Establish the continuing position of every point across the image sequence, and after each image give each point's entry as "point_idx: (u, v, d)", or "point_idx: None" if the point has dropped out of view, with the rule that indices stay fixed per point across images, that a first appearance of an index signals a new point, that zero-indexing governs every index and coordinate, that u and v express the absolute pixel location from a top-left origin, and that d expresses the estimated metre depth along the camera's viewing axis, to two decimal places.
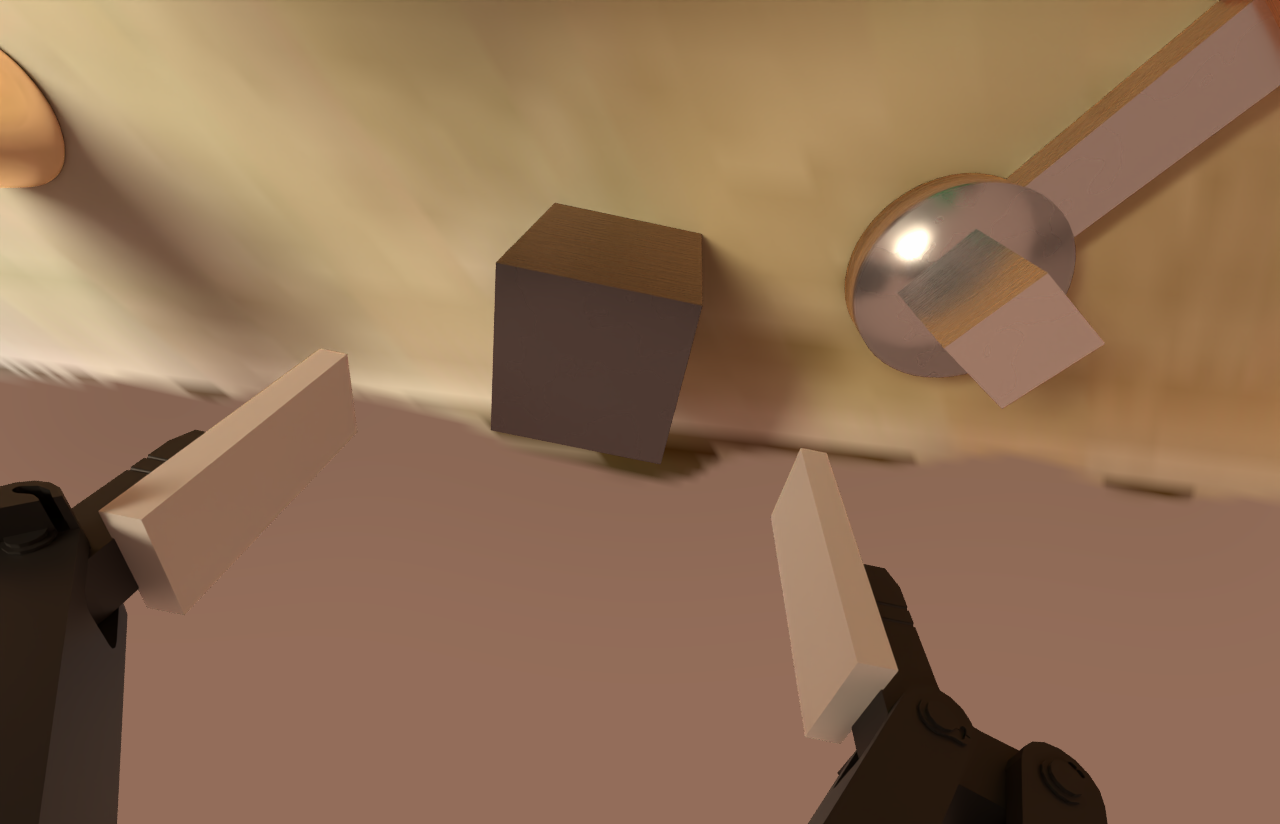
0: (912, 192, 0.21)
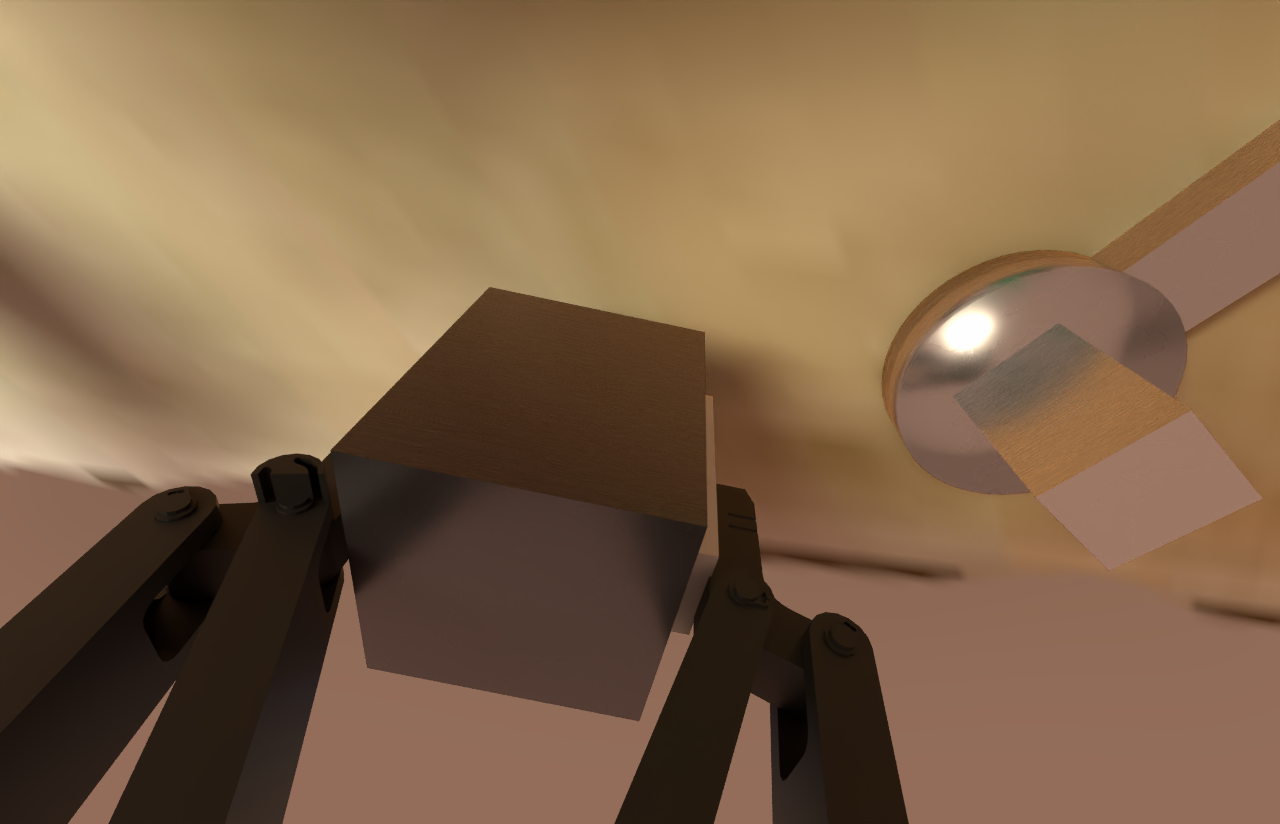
0: (971, 272, 0.17)
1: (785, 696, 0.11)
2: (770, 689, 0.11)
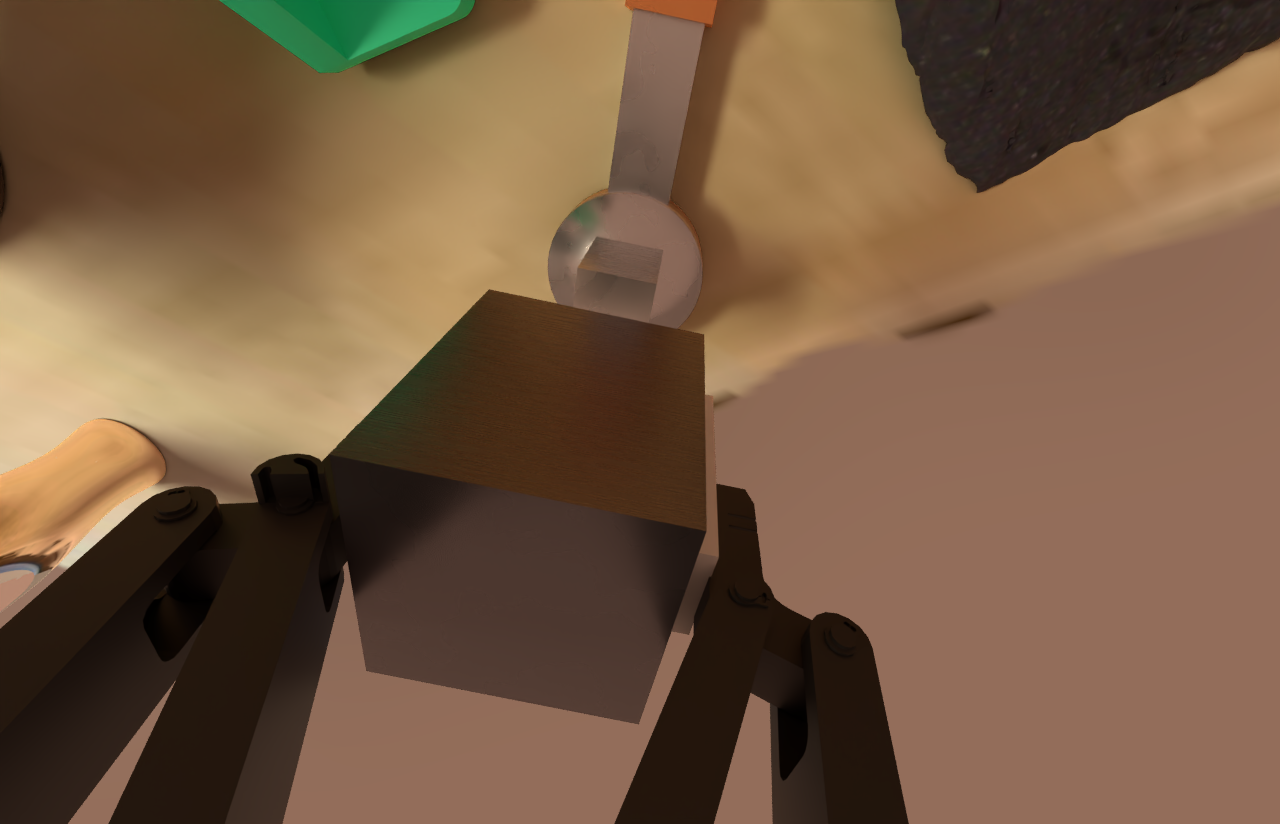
0: None
1: (785, 696, 0.11)
2: (770, 689, 0.11)
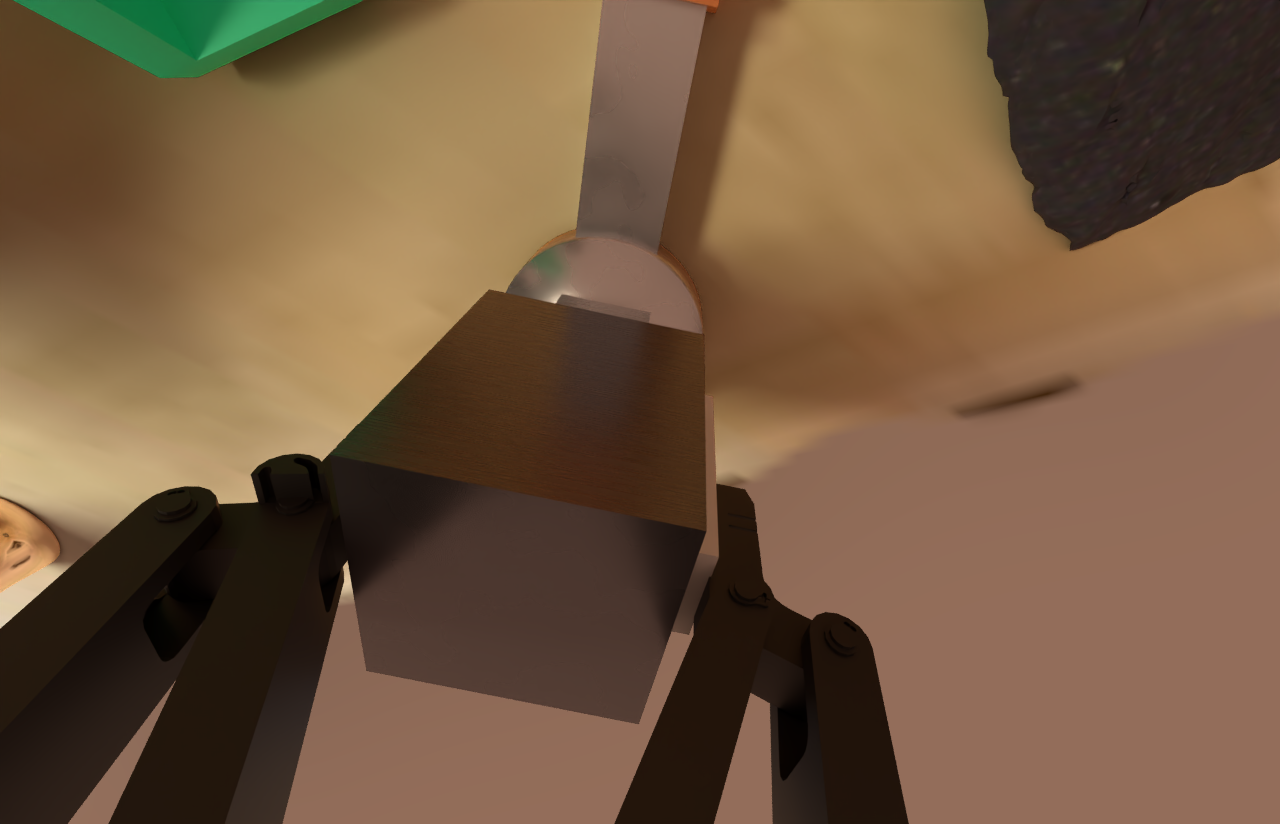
0: None
1: (785, 696, 0.11)
2: (770, 689, 0.11)
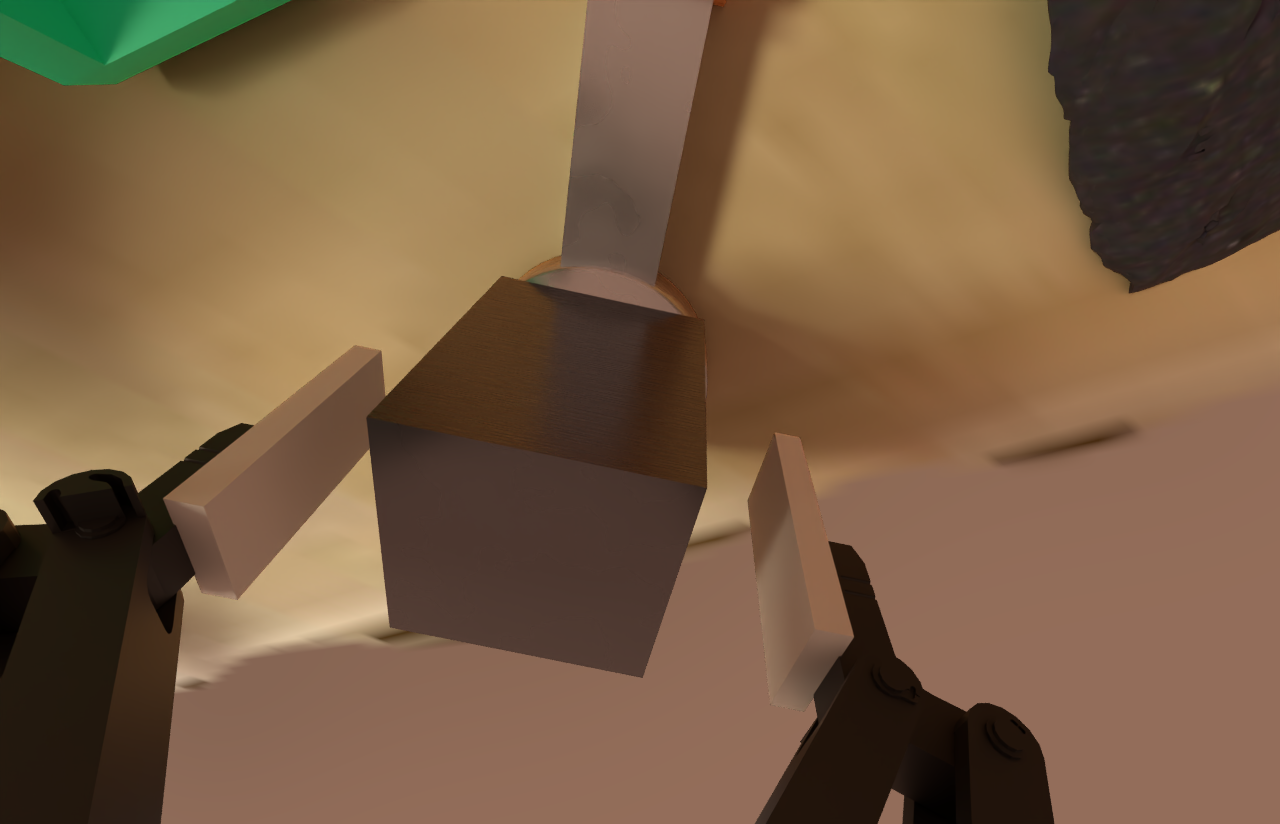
0: None
1: (934, 796, 0.10)
2: (917, 787, 0.10)
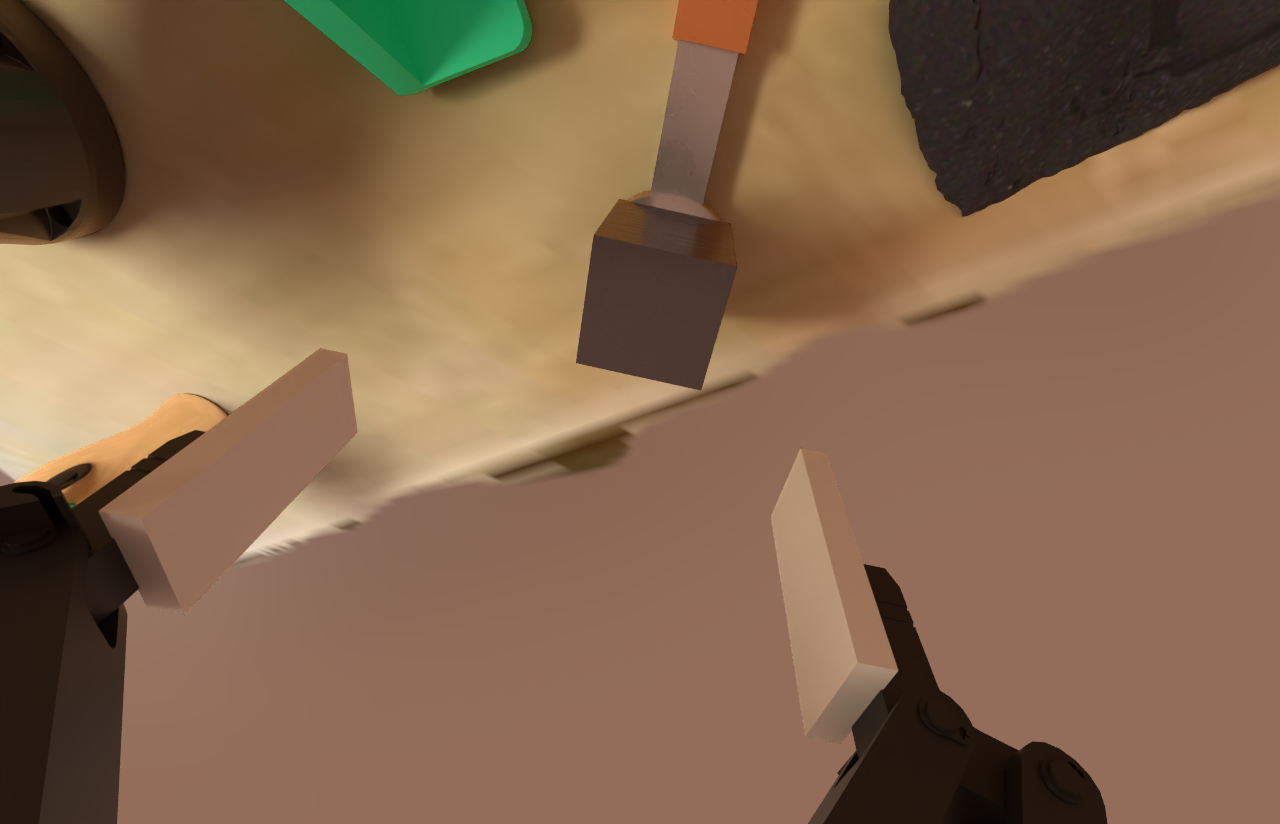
0: None
1: None
2: None
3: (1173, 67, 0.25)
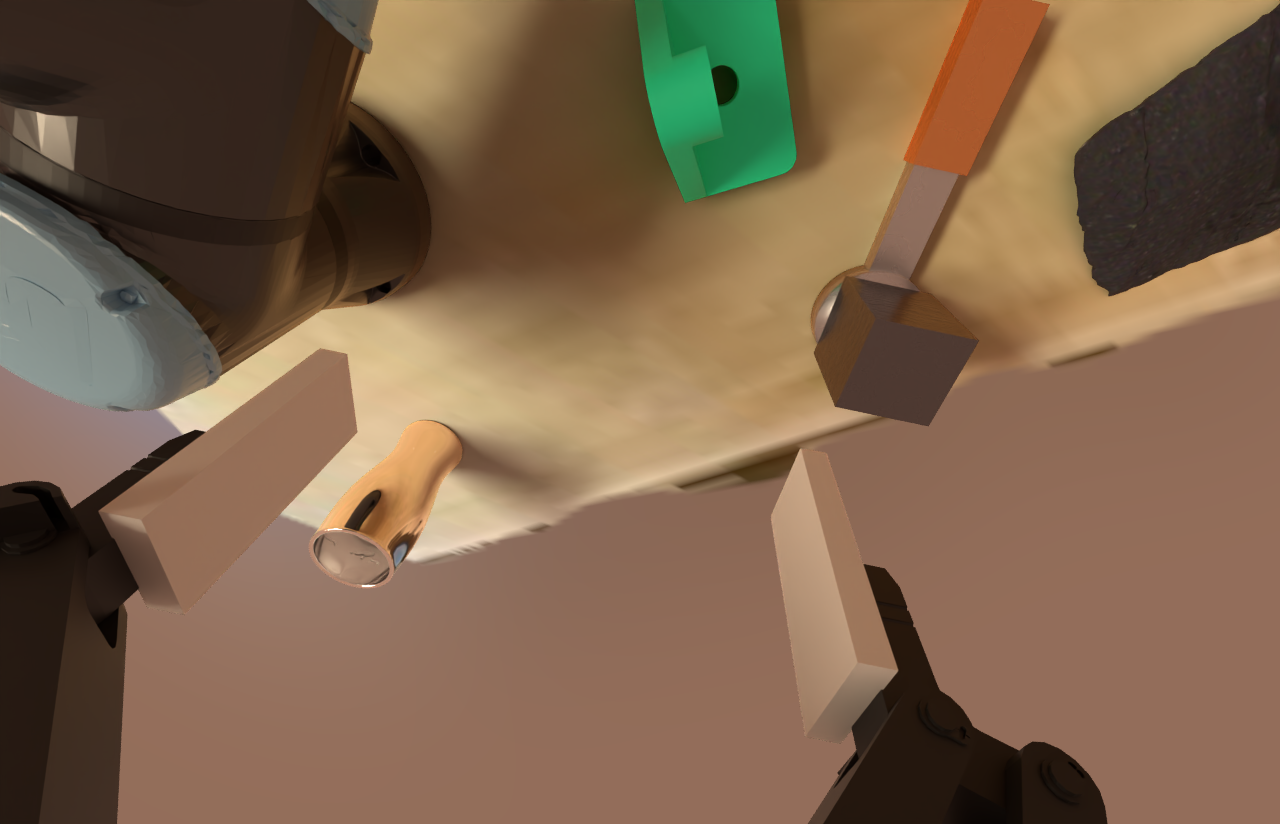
0: (821, 293, 0.41)
1: None
2: None
3: None
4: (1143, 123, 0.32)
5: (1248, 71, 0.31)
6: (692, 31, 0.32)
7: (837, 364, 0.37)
